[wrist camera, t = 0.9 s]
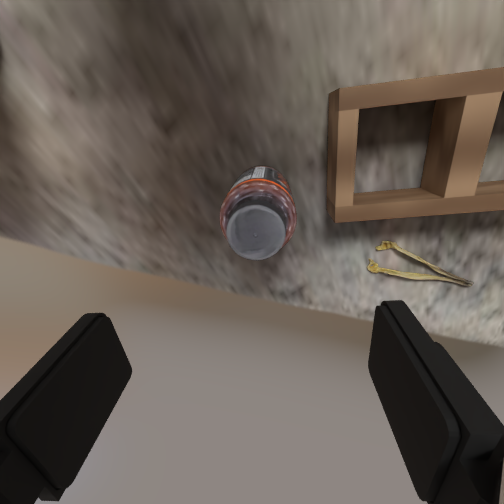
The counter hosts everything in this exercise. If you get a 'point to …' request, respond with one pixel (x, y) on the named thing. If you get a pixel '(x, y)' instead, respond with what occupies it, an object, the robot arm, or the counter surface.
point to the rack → (438, 150)
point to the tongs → (415, 275)
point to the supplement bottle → (258, 213)
